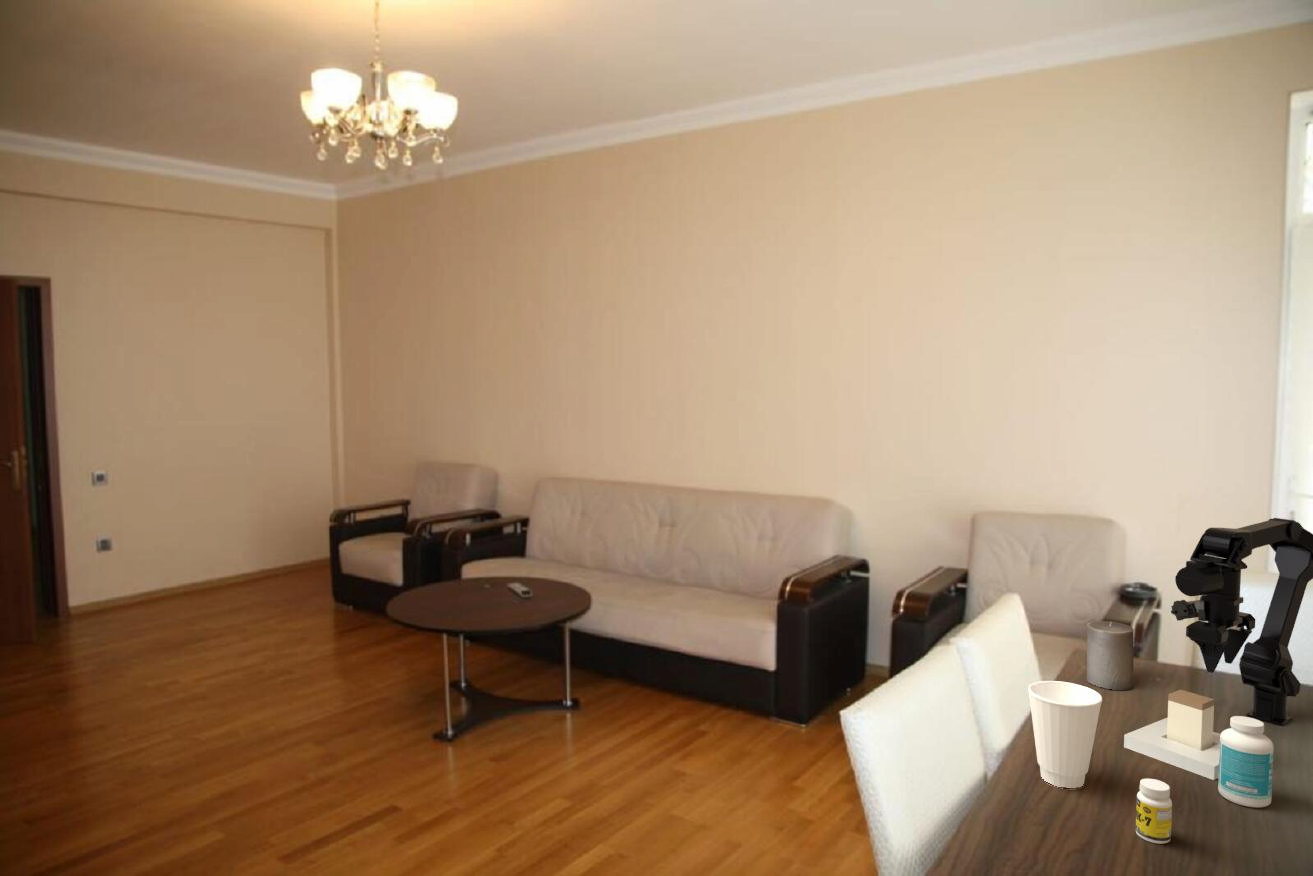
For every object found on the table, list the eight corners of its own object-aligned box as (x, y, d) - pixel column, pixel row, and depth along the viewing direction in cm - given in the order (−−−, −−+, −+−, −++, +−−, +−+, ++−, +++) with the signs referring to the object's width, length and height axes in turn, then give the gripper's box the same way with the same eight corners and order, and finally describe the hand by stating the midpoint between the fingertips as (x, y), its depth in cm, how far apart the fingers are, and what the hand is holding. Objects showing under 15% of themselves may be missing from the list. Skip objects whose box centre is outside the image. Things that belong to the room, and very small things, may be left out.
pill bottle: (1280, 812, 137) (1284, 731, 136) (1230, 807, 139) (1233, 728, 138) (1257, 790, 145) (1260, 714, 144) (1210, 786, 146) (1212, 711, 145)
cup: (1093, 770, 152) (1096, 684, 151) (1105, 801, 141) (1108, 708, 140) (1023, 761, 156) (1025, 677, 155) (1028, 790, 145) (1031, 700, 144)
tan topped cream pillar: (1178, 744, 163) (1180, 689, 162) (1212, 756, 158) (1214, 699, 157) (1166, 750, 161) (1168, 694, 160) (1200, 762, 156) (1202, 704, 155)
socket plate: (1167, 729, 170) (1168, 717, 170) (1256, 758, 157) (1257, 746, 157) (1123, 747, 162) (1124, 734, 162) (1213, 780, 148) (1214, 766, 148)
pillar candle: (1134, 681, 198) (1135, 618, 197) (1131, 694, 190) (1132, 628, 189) (1088, 674, 203) (1089, 613, 202) (1084, 686, 195) (1084, 623, 194)
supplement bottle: (1128, 829, 132) (1130, 777, 132) (1156, 827, 133) (1158, 776, 132) (1149, 845, 127) (1150, 792, 127) (1178, 844, 128) (1180, 790, 127)
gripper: (1197, 577, 180) (1194, 649, 181) (1159, 590, 169) (1156, 666, 170) (1257, 587, 171) (1254, 662, 172) (1222, 601, 160) (1218, 681, 161)
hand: (1219, 667), depth 169 cm, fingers open, 9 cm apart
